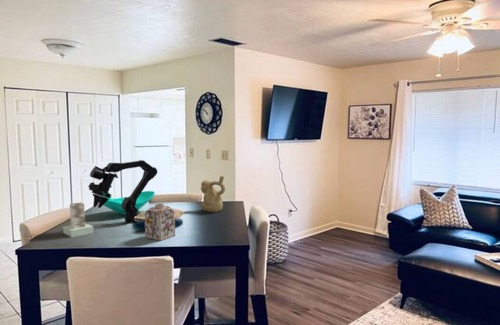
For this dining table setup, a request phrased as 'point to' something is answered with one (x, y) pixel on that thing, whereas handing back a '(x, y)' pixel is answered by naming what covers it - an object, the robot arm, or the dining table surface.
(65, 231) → the sage block
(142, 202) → the table top decor
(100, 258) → the dining table surface
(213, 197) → the ceramic vessel
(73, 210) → the cream block
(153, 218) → the decorative jar
